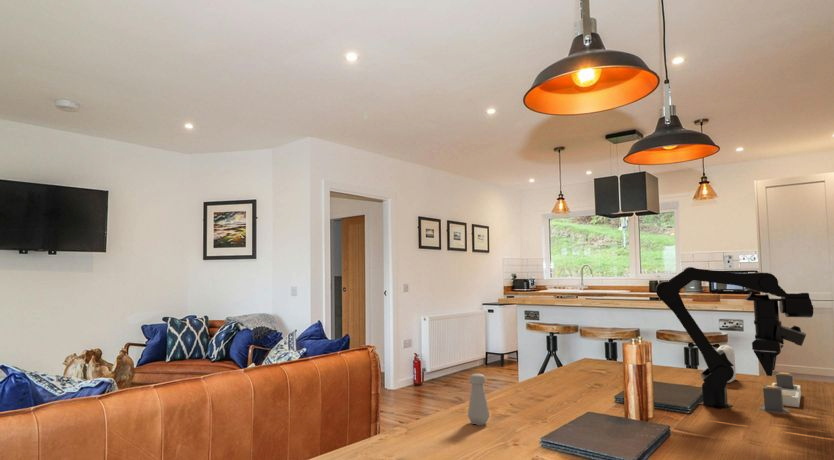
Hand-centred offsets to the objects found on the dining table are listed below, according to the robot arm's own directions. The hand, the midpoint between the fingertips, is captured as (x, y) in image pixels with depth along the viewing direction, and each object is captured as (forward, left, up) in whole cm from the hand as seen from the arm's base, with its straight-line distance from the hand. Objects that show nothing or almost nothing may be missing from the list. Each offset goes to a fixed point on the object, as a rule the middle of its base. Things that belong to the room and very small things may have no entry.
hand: (770, 372), depth 139 cm
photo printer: (+25, +29, -11) cm, 40 cm away
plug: (0, 0, -10) cm, 10 cm away
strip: (+22, +8, -10) cm, 26 cm away
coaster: (0, 0, -11) cm, 11 cm away
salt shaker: (-77, +32, -11) cm, 84 cm away
